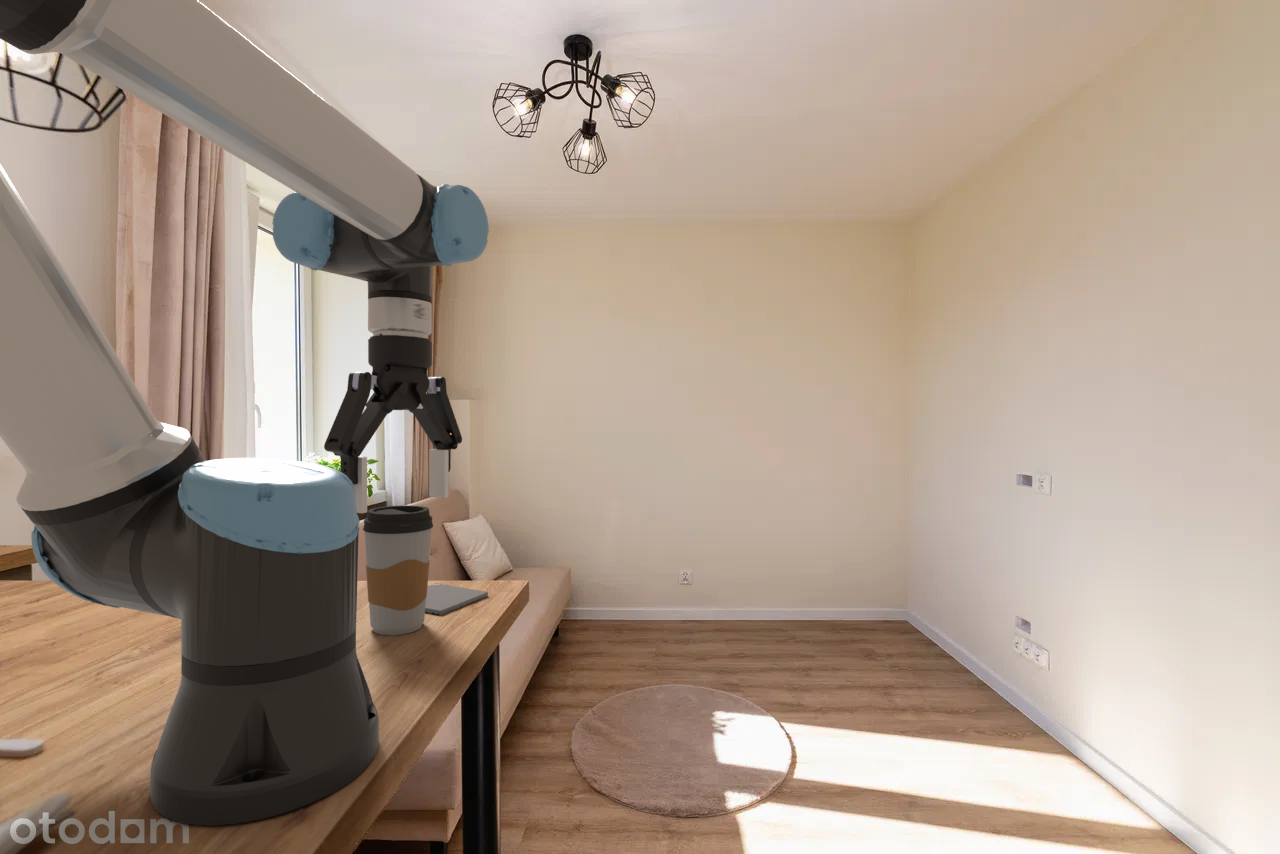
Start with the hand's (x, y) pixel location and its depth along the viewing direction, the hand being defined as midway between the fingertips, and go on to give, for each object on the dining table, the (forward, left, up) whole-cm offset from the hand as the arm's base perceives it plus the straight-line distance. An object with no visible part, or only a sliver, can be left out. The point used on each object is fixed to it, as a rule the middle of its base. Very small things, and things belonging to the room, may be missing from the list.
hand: (400, 504), depth 79 cm
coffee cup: (0, 0, -16) cm, 16 cm away
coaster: (+11, +3, -16) cm, 19 cm away
